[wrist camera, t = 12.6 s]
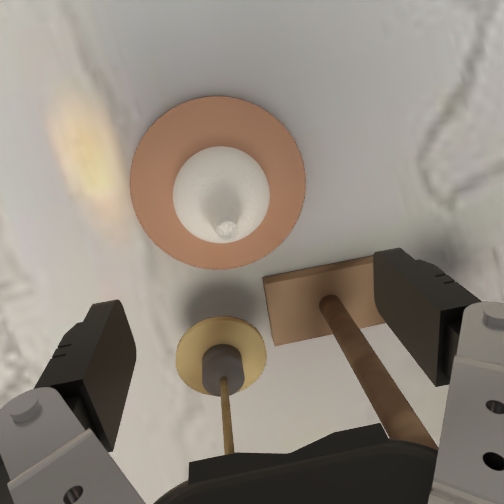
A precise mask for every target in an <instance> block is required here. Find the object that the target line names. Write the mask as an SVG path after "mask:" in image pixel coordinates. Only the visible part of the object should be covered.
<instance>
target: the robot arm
mask: <svg viewBox="0 0 504 504" xmlns="http://www.w3.org/2000/svg"><path fill="white" fill-rule="evenodd" d="M373 279H374V300H375V305H376V308H377V310H378V312H379V314H380V315H381V317H382V318H383V319H384V321H385V322H386V323H387V325H388V326H389V327H390V328H391V330H392V331H393V332H394V334H395V335H396V336H397V337H398V339H399V340H400V341H401V343H402V344H403V345H404V347H405V348H406V349H407V350H408V352H409V353H410V354H411V356H412V357H413V358H414V359H415V361H416V362H417V363H418V365H419V366H420V367H421V369H422V370H423V371H424V372H425V374H426V375H427V376H428V378H429V379H430V380H431V381H432V383H433V384H434V385H435V387H438V386H443V385H448V384H450V385H449V391H448V397H447V403H446V408H445V414H444V420H443V426H442V432H441V438H440V444H439V450H436V449H434V448H431V447H428V446H426V445H423V444H420V443H416V442H411V441H407V440H400V439H390V438H388V437H387V435H386V433H385V431H384V429H383V427H382V425H381V423H378V424H373V425H368V426H363V427H358V428H354V429H349V430H344V431H339V432H334V433H332V434H330V435H328V436H326V437H324V438H321V439H319V440H317V441H315V442H313V443H311V444H309V445H307V446H305V447H302V448H300V449H298V450H296V451H294V452H291V453H288V454H269V453H232V454H228V455H223V456H218V457H213V458H208V459H203V460H198V461H194V462H189V480H187V481H185V482H183V483H181V484H179V485H178V486H176V487H174V488H173V489H171V490H170V491H168V492H167V493H166V494H164V495H163V496H162V497H160V498H159V499H158V500H157V501H156V502H155V503H154V504H504V303H499V302H482V301H481V300H479V299H478V298H477V297H475V296H474V295H473V294H472V293H470V292H469V291H468V290H466V289H465V288H464V287H462V286H461V285H460V284H459V283H457V282H455V281H454V280H453V279H452V278H451V277H449V276H448V275H446V273H444V272H443V271H442V270H440V269H439V268H438V267H436V266H435V265H433V264H430V263H427V262H425V261H422V260H415V259H413V258H412V257H411V256H410V255H408V254H407V253H406V252H405V251H404V250H402V249H401V248H395V249H389V250H384V251H379V252H375V254H374V256H373ZM135 362H136V346H135V341H134V338H133V335H132V332H131V329H130V326H129V323H128V320H127V317H126V314H125V311H124V308H123V306H122V303H121V302H120V301H119V300H112V301H107V302H101V303H96V304H93V305H92V306H91V308H90V310H89V312H88V313H87V315H86V317H85V319H84V321H83V322H80V323H77V324H76V325H75V326H74V327H72V328H71V329H70V330H69V331H68V332H67V333H66V334H65V335H64V336H63V338H62V340H61V342H60V343H59V345H58V349H56V350H55V352H54V354H53V356H52V359H50V361H49V363H48V365H47V366H46V368H45V370H44V372H43V373H42V375H41V377H40V379H39V380H38V382H37V384H36V386H35V387H34V389H33V390H29V391H27V392H25V393H23V394H21V395H19V396H17V397H15V398H14V399H12V400H11V401H9V402H8V403H7V404H5V405H4V406H3V407H2V408H1V409H0V504H146V503H145V502H144V501H143V499H142V498H141V497H140V495H139V494H138V493H137V491H136V490H135V488H134V487H133V486H132V484H131V483H130V482H129V480H128V479H127V478H126V476H125V475H124V474H123V472H122V471H121V469H120V468H119V467H118V465H117V464H116V463H115V461H114V460H113V459H112V457H111V456H110V455H109V453H108V452H112V451H113V449H114V445H115V441H116V437H117V433H118V430H119V426H120V422H121V418H122V414H123V410H124V406H125V402H126V398H127V394H128V390H129V386H130V382H131V378H132V374H133V370H134V366H135Z"/></svg>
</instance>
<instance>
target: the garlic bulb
mask: <svg viewBox="0 0 504 504" xmlns="http://www.w3.org/2000/svg"><path fill="white" fill-rule="evenodd" d="M269 201H270V190H269V185H268V181H267V178H266V176H265V173H264V171H263V170H262V168H261V167H260V165H259V164H258V163H257V162H256V161H255V160H254V159H253V158H252V157H251V156H249V155H248V154H246V153H245V152H243V151H241V150H239V149H236V148H232V147H226V146H216V147H210V148H207V149H204V150H201V151H199V152H198V153H196V154H194V155H193V156H192V157H190V158H189V159H188V160H187V161H186V162H185V164H184V165H183V166H182V167H181V169H180V171H179V173H178V175H177V177H176V179H175V183H174V187H173V204H174V208H175V211H176V215H177V216H178V218H179V220H180V222H181V223H182V225H183V226H184V227H185V228H186V229H187V230H188V231H189V232H190V233H191V234H193V235H194V236H196V237H198V238H200V239H202V240H204V241H208V242H212V243H222V244H223V243H230V242H235V241H238V240H240V239H242V238H244V237H246V236H248V235H249V234H251V233H252V232H253V231H254V230H255V229H256V228H257V227H258V226H259V225H260V224H261V222H262V221H263V219H264V217H265V215H266V213H267V210H268V206H269Z"/></svg>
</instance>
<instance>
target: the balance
mask: <svg viewBox="0 0 504 504" xmlns="http://www.w3.org/2000/svg"><path fill="white" fill-rule="evenodd" d="M373 256H374V255H373ZM373 256H368V257H363V258H358V259H353V260H348V261H343V262H338V263H333V264H328V265H323V266H318V267H313V268H308V269H303V270H298V271H293V272H288V273H283V274H278V275H273V276H268V277H263V284H264V290H265V296H266V302H267V308H268V314H269V321H270V327H271V333H272V338H273V342H274V345H275V346H278V345H283V344H288V343H292V342H297V341H302V340H307V339H312V338H316V337H321V336H326V335H331V334H334V336H335V338H336V340H337V342H338V343H339V345H340V347H341V349H342V351H343V353H344V354H345V356H346V358H347V360H348V362H349V364H350V366H351V367H352V369H353V371H354V373H355V375H356V377H357V378H358V380H359V382H360V384H361V386H362V388H363V389H364V391H365V393H366V395H367V397H368V399H369V400H370V402H371V404H372V406H373V408H374V410H375V411H376V413H377V415H378V417H379V419H380V421H381V422H382V424H383V426H384V428H385V430H386V432H387V433H388V435H389V437H390V439H400V440H407V441H411V442H416V443H420V444H423V445H426V446H428V447H431V448H434V449H436V450H439V448H438V447H437V445H436V444H435V442H434V441H433V439H432V438H431V436H430V435H429V433H428V431H427V430H426V428H425V427H424V425H423V424H422V422H421V421H420V419H419V418H418V416H417V415H416V413H415V412H414V410H413V409H412V407H411V406H410V404H409V403H408V401H407V400H406V398H405V397H404V395H403V394H402V392H401V391H400V389H399V388H398V386H397V385H396V383H395V382H394V380H393V379H392V377H391V376H390V374H389V373H388V371H387V370H386V368H385V367H384V365H383V364H382V362H381V361H380V359H379V358H378V356H377V355H376V353H375V352H374V350H373V349H372V347H371V346H370V344H369V343H368V341H367V340H366V338H365V337H364V335H363V334H362V332H361V331H360V329H359V328H364V327H369V326H374V325H378V324H383V323H386V322H385V321H384V319H383V318H382V317H381V315H380V314H379V312H378V310H377V308H376V305H375V300H374V279H373ZM266 359H267V354H266V348H265V344H264V340H263V338H262V336H261V334H260V333H259V331H258V330H257V329H256V328H255V327H254V326H252V325H251V324H250V323H248V322H246V321H244V320H242V319H239V318H235V317H228V316H218V317H212V318H208V319H205V320H203V321H200V322H198V323H197V324H195V325H194V326H192V327H191V328H190V329H188V330H187V331H186V333H185V334H184V335H183V336H182V338H181V339H180V342H179V344H178V347H177V353H176V367H177V371H178V373H179V375H180V377H181V379H182V380H183V381H184V382H185V383H186V384H187V385H188V386H189V387H191V388H192V389H194V390H196V391H198V392H200V393H203V394H207V395H214V396H220V397H221V406H222V420H223V434H224V449H225V455H228V454H232V453H234V444H233V434H232V423H231V413H230V402H229V395H232V394H234V393H236V392H239V391H242V390H243V389H245V388H247V387H249V386H250V385H251V384H253V383H254V382H255V381H256V380H257V379H258V378H259V376H260V375H261V374H262V372H263V370H264V367H265V365H266ZM269 454H272V453H269Z"/></svg>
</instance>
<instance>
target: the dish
mask: <svg viewBox="0 0 504 504" xmlns="http://www.w3.org/2000/svg"><path fill="white" fill-rule="evenodd" d="M216 146H226V147H232V148H236V149H239V150H241V151H243V152H245V153H246V154H248V155H249V156H251V157H252V158H253V159H254V160H255V161H256V162H257V163H258V164H259V165H260V167H261V168H262V170H263V171H264V173H265V176H266V178H267V181H268V185H269V190H270V201H269V206H268V210H267V213H266V215H265V217H264V219H263V221H262V222H261V224H260V225H259V226H258V227H257V228H256V229H255V230H254V231H253V232H252V233H251V234H249V235H248V236H246V237H244V238H242V239H240V240H238V241H235V242H230V243H223V244H222V243H212V242H208V241H204V240H202V239H200V238H198V237H196V236H194V235H193V234H191V233H190V232H189V231H188V230H187V229H186V228H185V227H184V226H183V225H182V223H181V222H180V220H179V218H178V216H177V215H176V211H175V208H174V204H173V187H174V183H175V179H176V177H177V175H178V173H179V171H180V169H181V167H182V166H183V165H184V164H185V162H186V161H187V160H188V159H189V158H190V157H192V156H193V155H194V154H196V153H198V152H199V151H201V150H204V149H207V148H210V147H216ZM305 188H306V179H305V170H304V164H303V160H302V157H301V154H300V151H299V149H298V147H297V145H296V143H295V141H294V139H293V138H292V136H291V135H290V133H289V132H288V131H287V129H286V128H285V127H284V126H283V125H282V123H280V122H279V121H278V120H277V119H276V118H275V117H274V116H273V115H271V114H270V113H268V112H267V111H265V110H264V109H262V108H260V107H258V106H256V105H254V104H252V103H250V102H247V101H244V100H241V99H237V98H231V97H224V96H210V97H201V98H197V99H193V100H190V101H187V102H185V103H182V104H180V105H178V106H176V107H174V108H173V109H171V110H169V111H168V112H166V113H165V114H164V115H163V116H161V117H160V118H159V119H158V120H157V121H156V122H155V123H154V124H153V125H152V126H151V127H150V128H149V129H148V131H147V132H146V134H145V135H144V136H143V138H142V140H141V141H140V143H139V145H138V147H137V149H136V152H135V155H134V158H133V161H132V166H131V172H130V193H131V199H132V204H133V208H134V210H135V213H136V216H137V218H138V220H139V222H140V224H141V226H142V228H143V229H144V230H145V232H146V233H147V235H148V236H149V237H150V238H151V239H152V241H153V242H154V243H155V244H156V245H157V246H158V247H160V248H161V249H162V250H163V251H164V252H166V253H167V254H169V255H170V256H172V257H173V258H175V259H177V260H179V261H181V262H183V263H186V264H189V265H192V266H195V267H200V268H204V269H214V270H215V269H231V268H237V267H241V266H245V265H247V264H250V263H253V262H255V261H257V260H259V259H261V258H263V257H265V256H266V255H267V254H269V253H270V252H272V251H273V250H274V249H275V248H276V247H278V246H279V245H280V244H281V243H282V242H283V241H284V239H285V238H286V237H287V236H288V235H289V233H290V232H291V230H292V229H293V227H294V225H295V224H296V222H297V220H298V218H299V215H300V212H301V210H302V206H303V202H304V198H305Z"/></svg>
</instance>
